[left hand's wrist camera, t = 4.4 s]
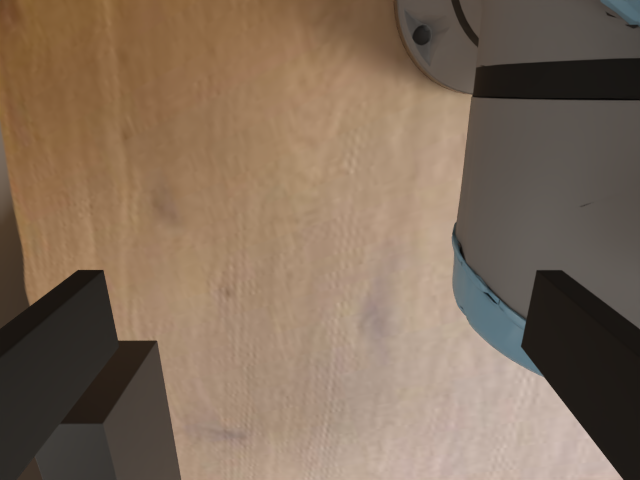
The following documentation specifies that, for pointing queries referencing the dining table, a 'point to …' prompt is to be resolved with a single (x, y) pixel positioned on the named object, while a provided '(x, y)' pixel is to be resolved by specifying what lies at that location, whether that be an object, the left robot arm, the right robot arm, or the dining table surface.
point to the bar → (116, 424)
